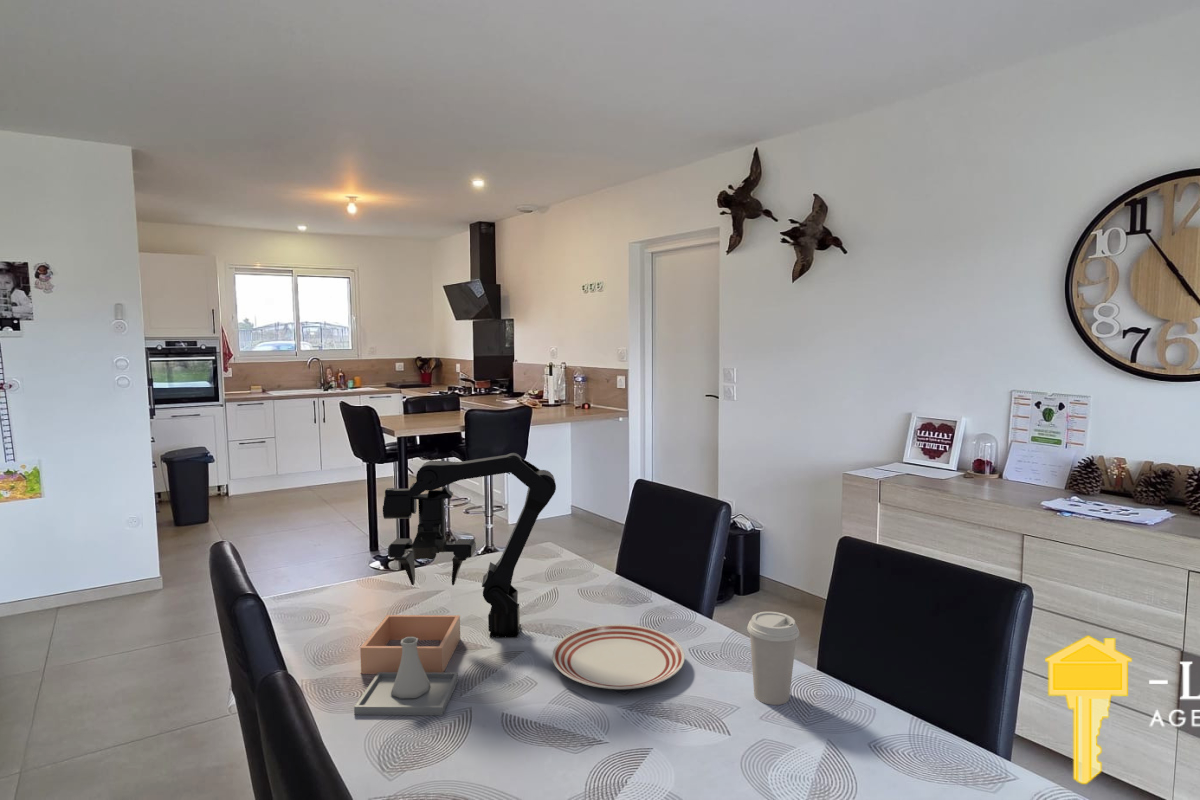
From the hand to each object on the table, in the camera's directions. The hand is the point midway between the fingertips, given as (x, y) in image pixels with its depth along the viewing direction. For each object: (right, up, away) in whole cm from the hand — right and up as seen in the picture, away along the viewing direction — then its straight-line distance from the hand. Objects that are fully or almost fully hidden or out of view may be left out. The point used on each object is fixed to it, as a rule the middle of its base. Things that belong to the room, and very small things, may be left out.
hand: (433, 584), depth 157 cm
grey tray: (+2, -14, -26) cm, 30 cm away
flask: (+2, -14, -25) cm, 28 cm away
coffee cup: (+71, -14, -26) cm, 77 cm away
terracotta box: (-2, -13, -9) cm, 16 cm away
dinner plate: (+42, -14, -13) cm, 46 cm away
